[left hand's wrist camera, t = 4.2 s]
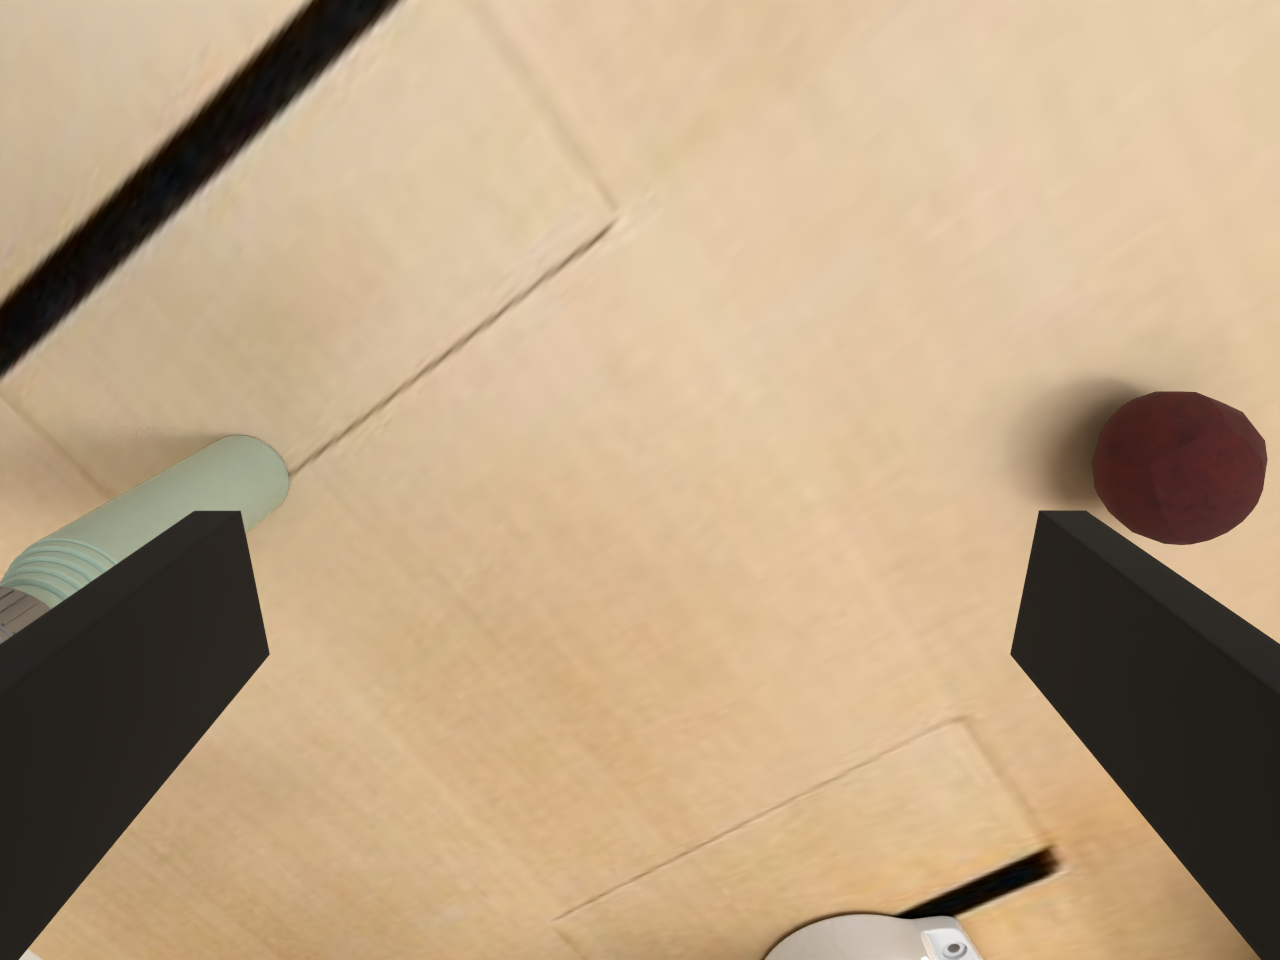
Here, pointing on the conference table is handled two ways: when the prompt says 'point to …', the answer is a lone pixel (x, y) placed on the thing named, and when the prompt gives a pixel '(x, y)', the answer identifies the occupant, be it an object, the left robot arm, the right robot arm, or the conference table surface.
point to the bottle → (152, 515)
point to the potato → (1179, 467)
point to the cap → (17, 611)
